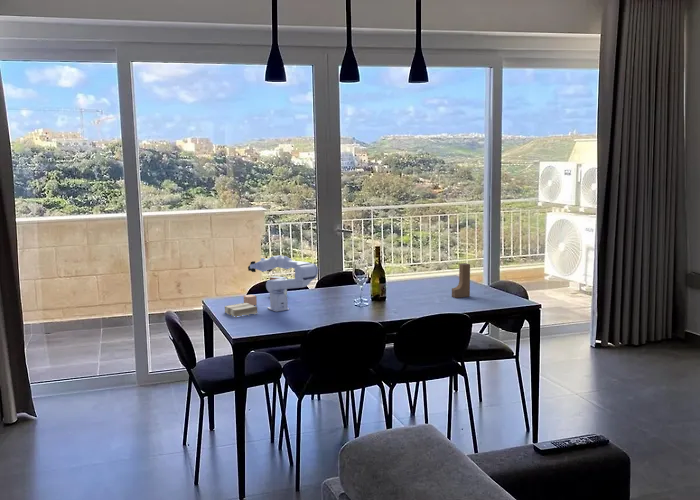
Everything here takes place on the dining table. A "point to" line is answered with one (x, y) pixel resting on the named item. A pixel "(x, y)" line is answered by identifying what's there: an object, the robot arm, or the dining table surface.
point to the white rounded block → (279, 278)
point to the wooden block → (463, 282)
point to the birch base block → (240, 309)
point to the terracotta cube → (250, 299)
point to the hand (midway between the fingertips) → (255, 268)
